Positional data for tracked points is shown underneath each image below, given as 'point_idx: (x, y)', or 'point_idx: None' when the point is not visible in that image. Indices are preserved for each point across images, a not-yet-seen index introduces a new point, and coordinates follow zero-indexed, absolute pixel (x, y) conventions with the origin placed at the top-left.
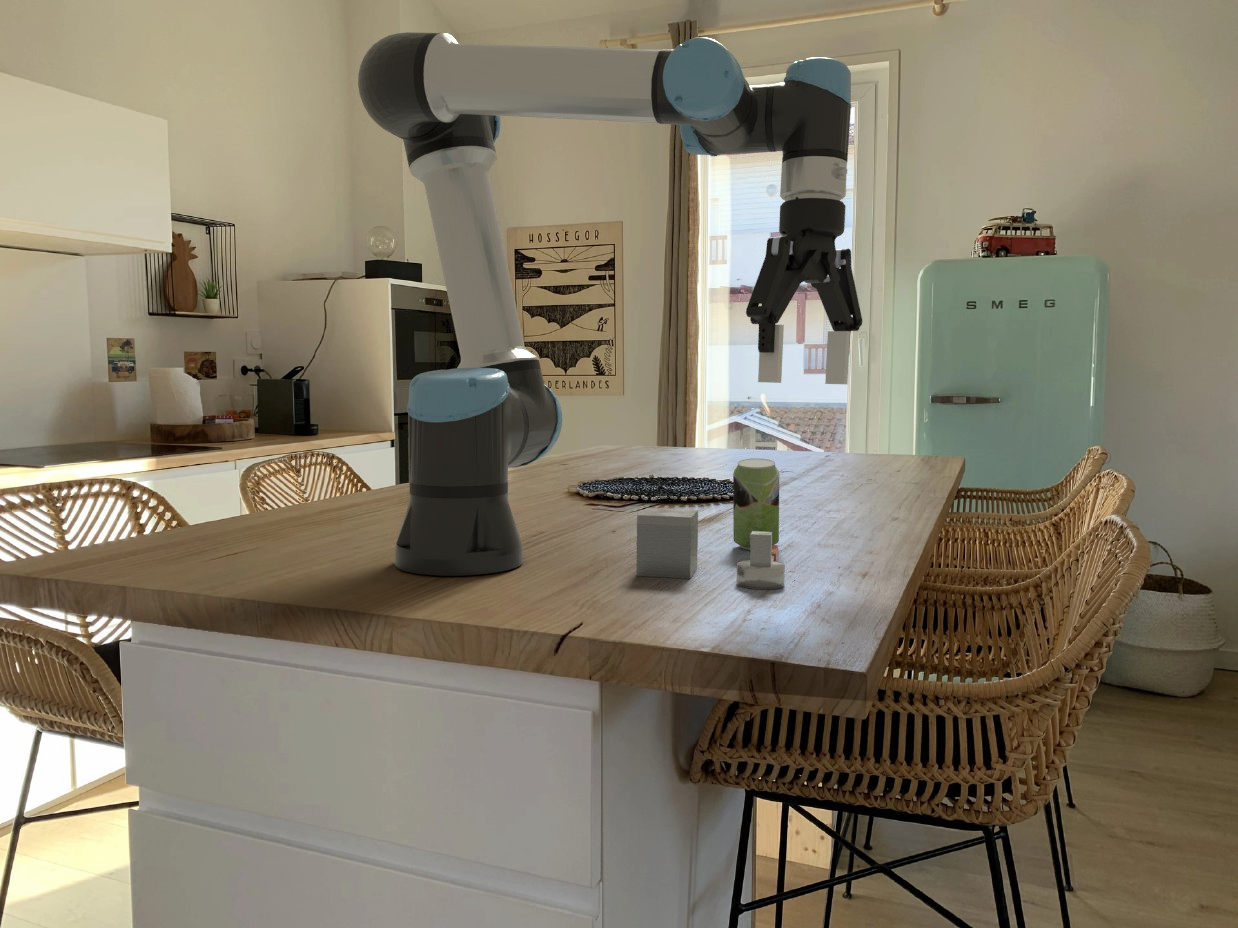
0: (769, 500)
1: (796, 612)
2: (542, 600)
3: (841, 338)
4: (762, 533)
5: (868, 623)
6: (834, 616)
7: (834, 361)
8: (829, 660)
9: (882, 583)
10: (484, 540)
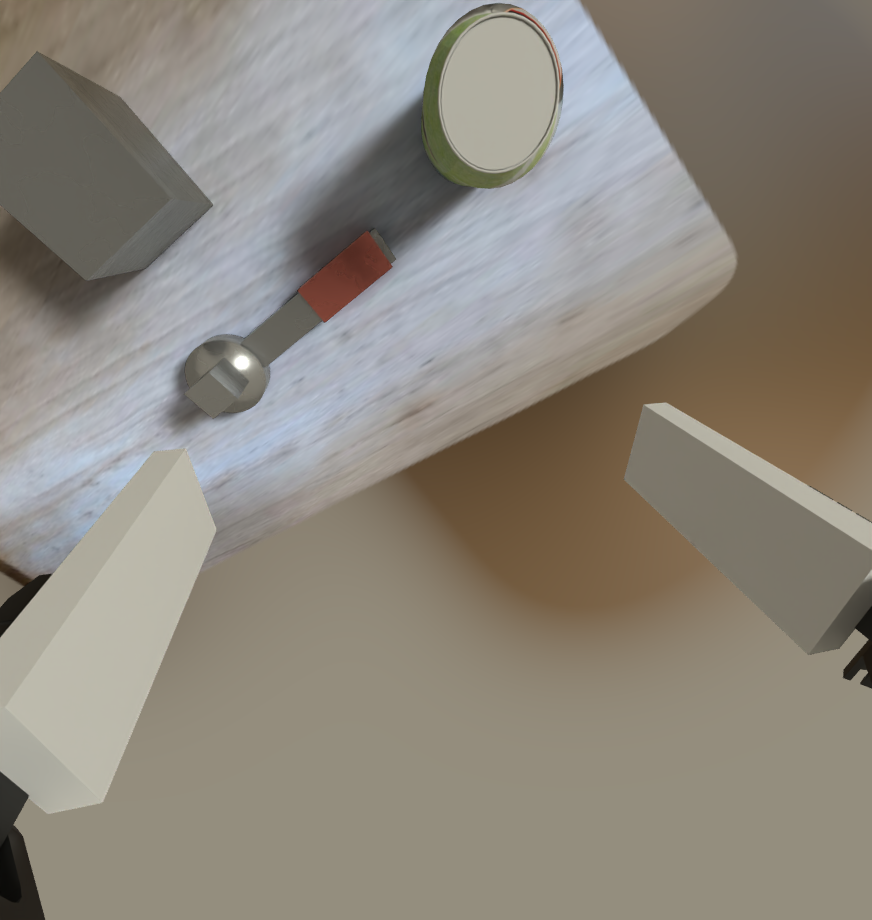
0: (463, 184)
1: None
2: None
3: (784, 596)
4: (210, 399)
5: (218, 548)
6: None
7: (696, 489)
8: None
9: (386, 454)
10: None
